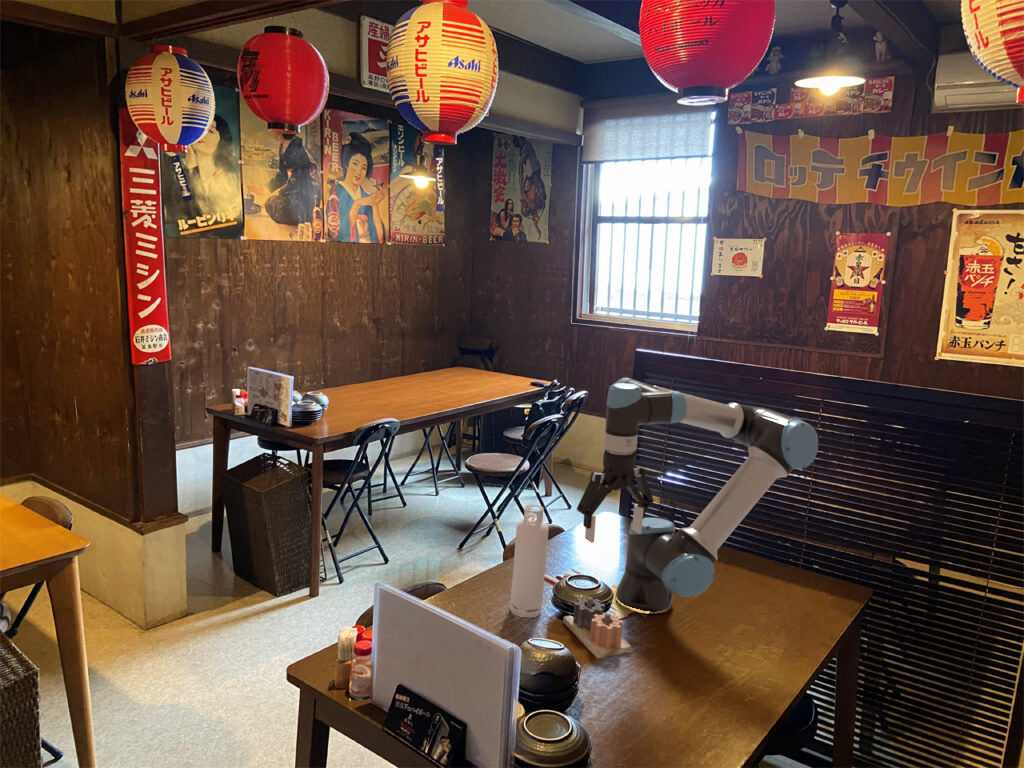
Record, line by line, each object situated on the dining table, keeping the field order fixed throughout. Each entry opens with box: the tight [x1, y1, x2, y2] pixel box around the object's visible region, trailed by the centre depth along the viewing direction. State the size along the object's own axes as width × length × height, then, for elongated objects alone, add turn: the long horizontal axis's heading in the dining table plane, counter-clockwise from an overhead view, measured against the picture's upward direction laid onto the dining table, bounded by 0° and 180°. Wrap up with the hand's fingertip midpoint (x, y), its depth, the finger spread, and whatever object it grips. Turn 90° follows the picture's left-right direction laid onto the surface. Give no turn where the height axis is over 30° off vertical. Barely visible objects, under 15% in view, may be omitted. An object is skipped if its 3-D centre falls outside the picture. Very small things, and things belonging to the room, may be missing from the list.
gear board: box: [562, 596, 632, 659], centre depth 179 cm, size 9×17×8 cm, turn 24°
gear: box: [590, 612, 624, 648], centre depth 175 cm, size 7×7×5 cm
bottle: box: [509, 503, 550, 618], centre depth 187 cm, size 8×8×28 cm
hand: (613, 536), depth 175 cm, fingers open, 13 cm apart
